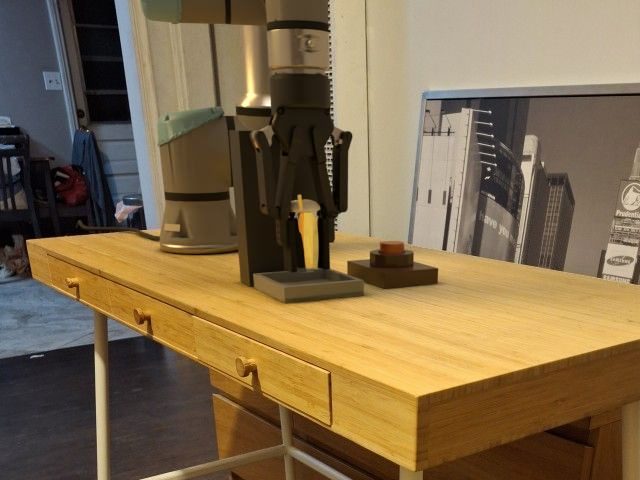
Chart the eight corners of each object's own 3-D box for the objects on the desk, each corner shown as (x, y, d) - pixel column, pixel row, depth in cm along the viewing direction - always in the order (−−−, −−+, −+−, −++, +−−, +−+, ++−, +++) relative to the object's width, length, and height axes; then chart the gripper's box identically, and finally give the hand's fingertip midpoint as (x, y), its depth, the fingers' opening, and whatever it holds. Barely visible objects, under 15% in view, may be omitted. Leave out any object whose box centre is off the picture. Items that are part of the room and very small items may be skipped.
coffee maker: (240, 282, 111) (228, 130, 102) (315, 275, 116) (310, 130, 107) (283, 303, 98) (274, 131, 89) (365, 295, 103) (364, 131, 94)
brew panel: (347, 275, 117) (346, 248, 115) (397, 271, 120) (398, 244, 119) (384, 288, 107) (384, 259, 105) (438, 283, 111) (439, 255, 109)
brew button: (375, 254, 113) (375, 241, 112) (396, 252, 114) (396, 240, 114) (387, 257, 110) (387, 244, 109) (408, 255, 112) (408, 243, 111)
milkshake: (288, 275, 101) (281, 195, 97) (293, 268, 106) (287, 191, 102) (321, 274, 101) (316, 194, 97) (325, 267, 106) (321, 190, 101)
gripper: (242, 68, 86) (257, 278, 97) (375, 74, 94) (375, 268, 104) (222, 72, 92) (238, 270, 103) (348, 77, 100) (351, 261, 110)
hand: (307, 269), depth 104 cm, fingers closed on milkshake, 4 cm apart
